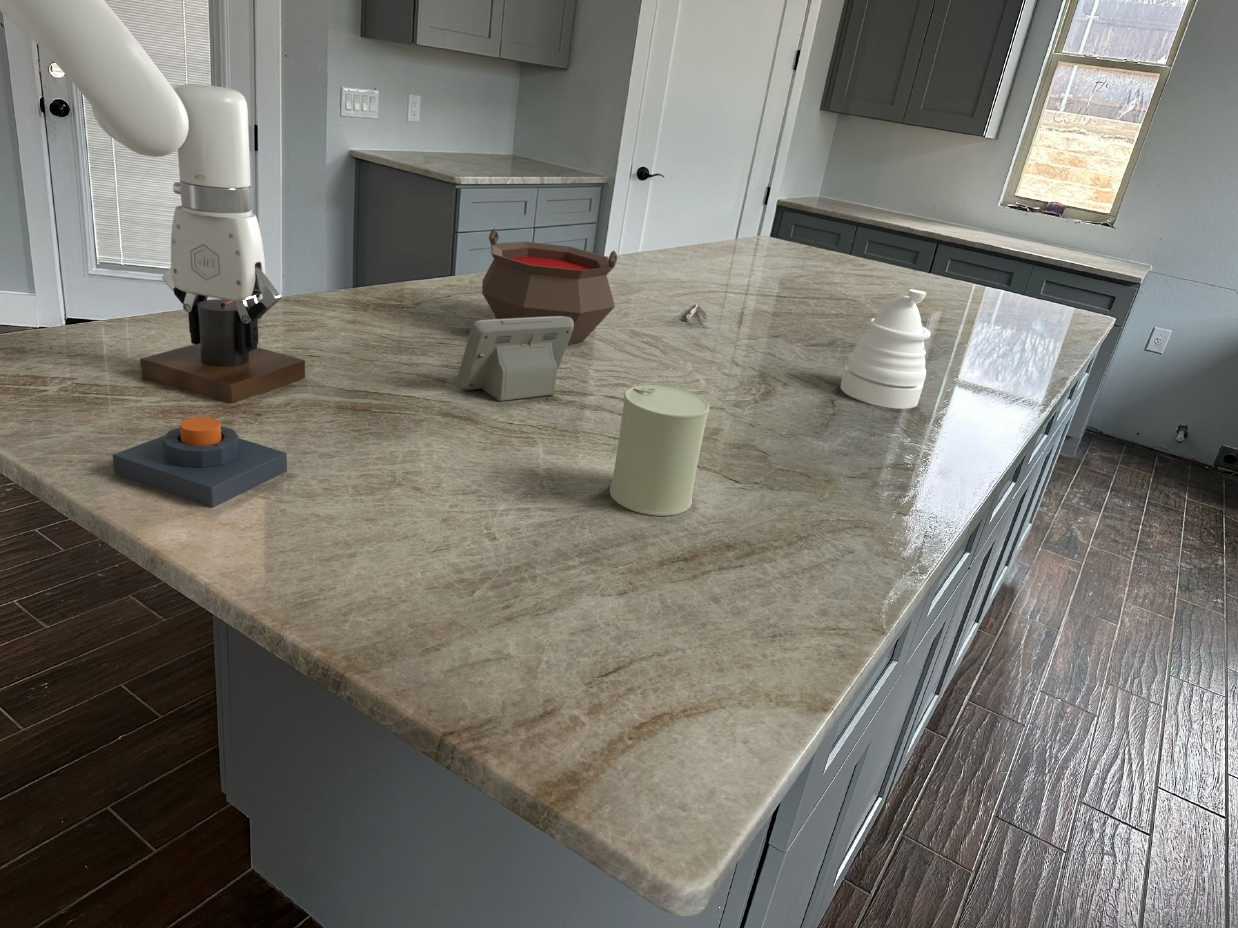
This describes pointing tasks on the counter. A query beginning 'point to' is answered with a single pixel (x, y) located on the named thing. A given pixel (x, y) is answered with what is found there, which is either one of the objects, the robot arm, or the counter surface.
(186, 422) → the alarm button
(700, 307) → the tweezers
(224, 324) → the dark grey cylinder
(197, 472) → the alarm button base
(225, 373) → the swivel stand
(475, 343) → the digital clock
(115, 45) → the robot arm
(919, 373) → the honey pot
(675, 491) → the can
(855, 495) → the counter surface
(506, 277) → the brown cauldron
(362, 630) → the counter surface
